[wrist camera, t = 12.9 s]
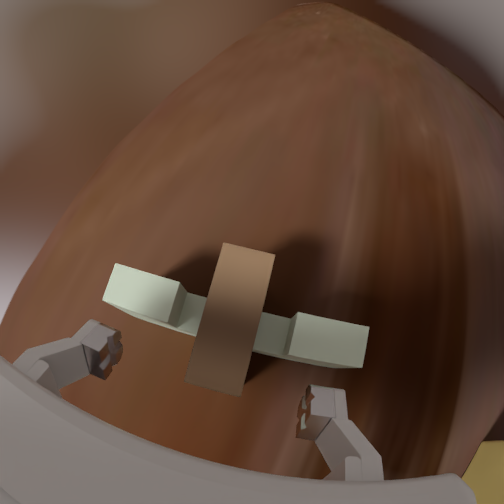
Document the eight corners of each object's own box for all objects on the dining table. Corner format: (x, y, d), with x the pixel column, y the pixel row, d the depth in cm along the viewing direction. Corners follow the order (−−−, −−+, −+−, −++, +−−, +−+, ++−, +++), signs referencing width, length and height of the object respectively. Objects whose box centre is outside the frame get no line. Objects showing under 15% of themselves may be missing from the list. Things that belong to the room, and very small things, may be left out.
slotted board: (144, 288, 23) (115, 262, 17) (338, 337, 22) (369, 326, 16) (134, 316, 22) (102, 300, 16) (332, 368, 21) (362, 367, 15)
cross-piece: (228, 278, 23) (223, 242, 17) (265, 287, 23) (275, 254, 16) (202, 376, 20) (183, 381, 14) (241, 386, 20) (240, 397, 13)
